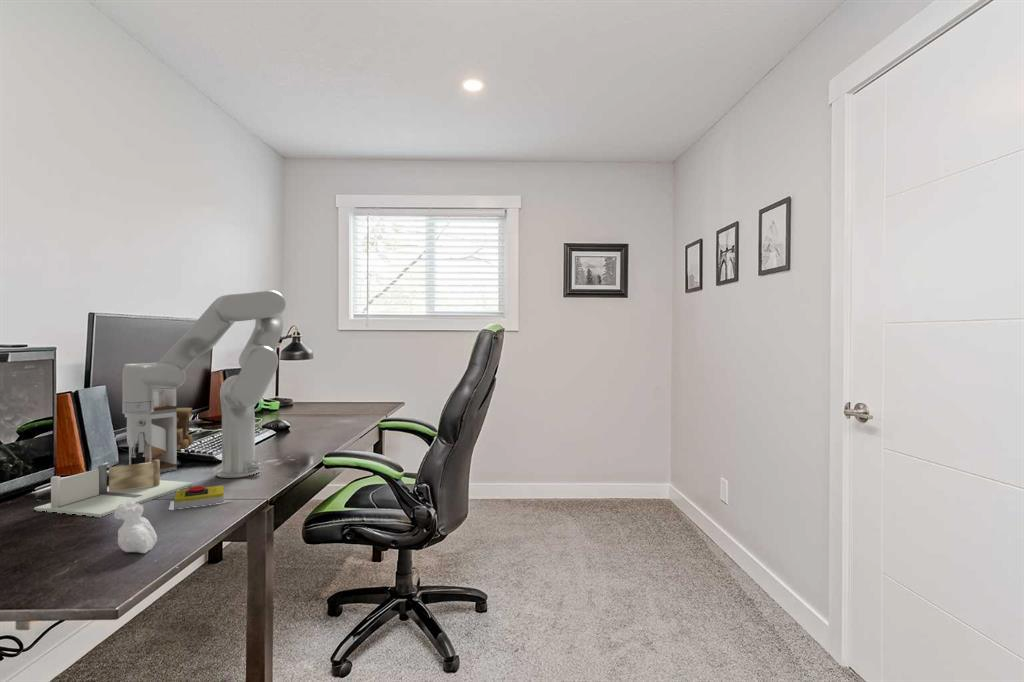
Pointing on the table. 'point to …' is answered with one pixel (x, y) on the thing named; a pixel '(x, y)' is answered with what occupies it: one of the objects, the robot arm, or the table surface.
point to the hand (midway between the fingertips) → (138, 470)
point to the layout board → (115, 499)
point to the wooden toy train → (183, 428)
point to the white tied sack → (134, 529)
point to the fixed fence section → (78, 486)
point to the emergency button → (198, 496)
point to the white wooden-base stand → (162, 429)
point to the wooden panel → (134, 476)
